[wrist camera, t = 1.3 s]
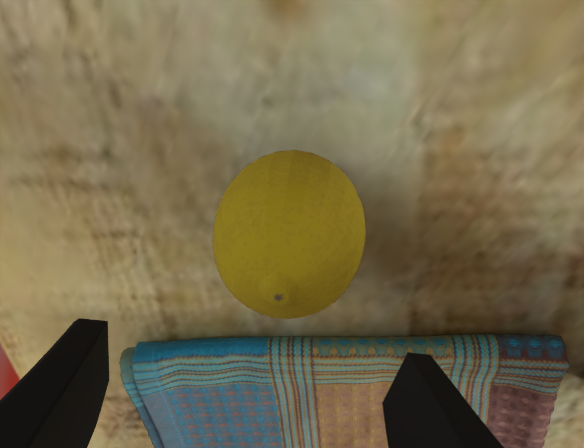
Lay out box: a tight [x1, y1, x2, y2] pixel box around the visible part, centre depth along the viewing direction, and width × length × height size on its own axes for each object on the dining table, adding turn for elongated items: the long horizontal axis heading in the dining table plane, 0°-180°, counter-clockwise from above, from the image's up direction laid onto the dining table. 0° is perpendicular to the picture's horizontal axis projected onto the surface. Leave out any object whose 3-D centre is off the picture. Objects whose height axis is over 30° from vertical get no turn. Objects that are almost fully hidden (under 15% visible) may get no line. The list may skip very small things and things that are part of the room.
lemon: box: [213, 150, 366, 319], centre depth 16 cm, size 6×6×8 cm
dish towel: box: [119, 334, 569, 448], centre depth 27 cm, size 17×23×2 cm
